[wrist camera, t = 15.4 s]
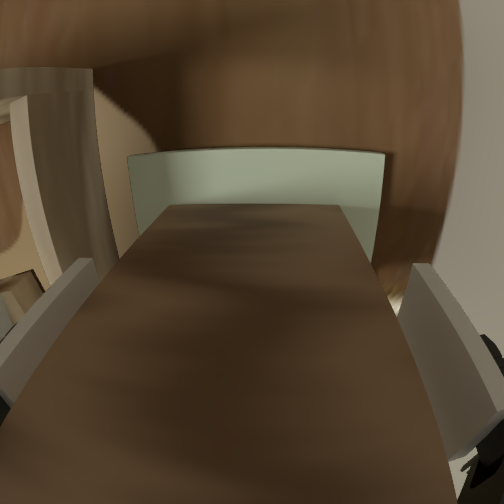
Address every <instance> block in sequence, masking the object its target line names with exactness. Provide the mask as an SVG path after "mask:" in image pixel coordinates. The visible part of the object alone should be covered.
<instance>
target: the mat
mask: <svg viewBox="0 0 504 504" xmlns="http://www.w3.org/2000/svg"><path fill="white" fill-rule="evenodd" d="M127 162H128V170H129V177H130V184H131V190H132V198H133V203H134V210H135V215H136V221H137V227H138V232H139V237H140V236H141V235H142V233H143V232H144V231H145V230H146V229H147V228H148V227H149V226H150V225H151V224H152V223H153V222H154V220H155V219H156V218H157V217H158V216H159V215H160V214H161V213H162V212H163V211H164V210H165V209H166V208H167V207H168V206H169V205H181V204H321V205H339V206H340V208H341V209H342V211H343V213H344V215H345V217H346V218H347V220H348V222H349V224H350V225H351V227H352V229H353V231H354V233H355V235H356V236H357V238H358V240H359V242H360V244H361V246H362V248H363V250H364V251H365V253H366V255H367V257H368V259H369V261H370V263H371V259H372V254H373V248H374V242H375V236H376V230H377V223H378V216H379V209H380V201H381V192H382V183H383V173H384V162H385V154H383V153H381V152H371V151H360V150H346V149H330V148H307V147H230V148H207V149H190V150H176V151H165V152H154V153H144V154H136V155H131V156H129V157H127Z"/></svg>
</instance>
